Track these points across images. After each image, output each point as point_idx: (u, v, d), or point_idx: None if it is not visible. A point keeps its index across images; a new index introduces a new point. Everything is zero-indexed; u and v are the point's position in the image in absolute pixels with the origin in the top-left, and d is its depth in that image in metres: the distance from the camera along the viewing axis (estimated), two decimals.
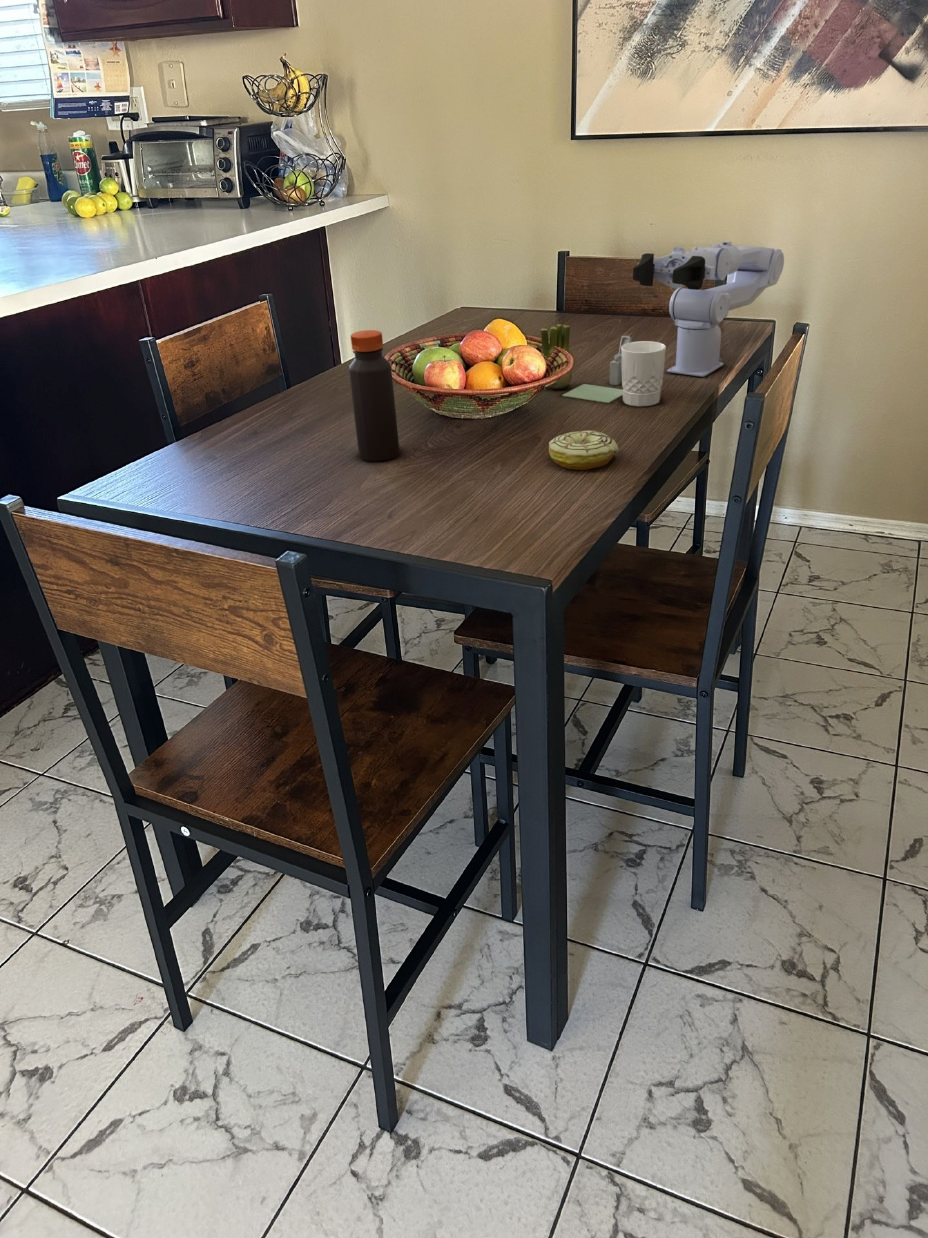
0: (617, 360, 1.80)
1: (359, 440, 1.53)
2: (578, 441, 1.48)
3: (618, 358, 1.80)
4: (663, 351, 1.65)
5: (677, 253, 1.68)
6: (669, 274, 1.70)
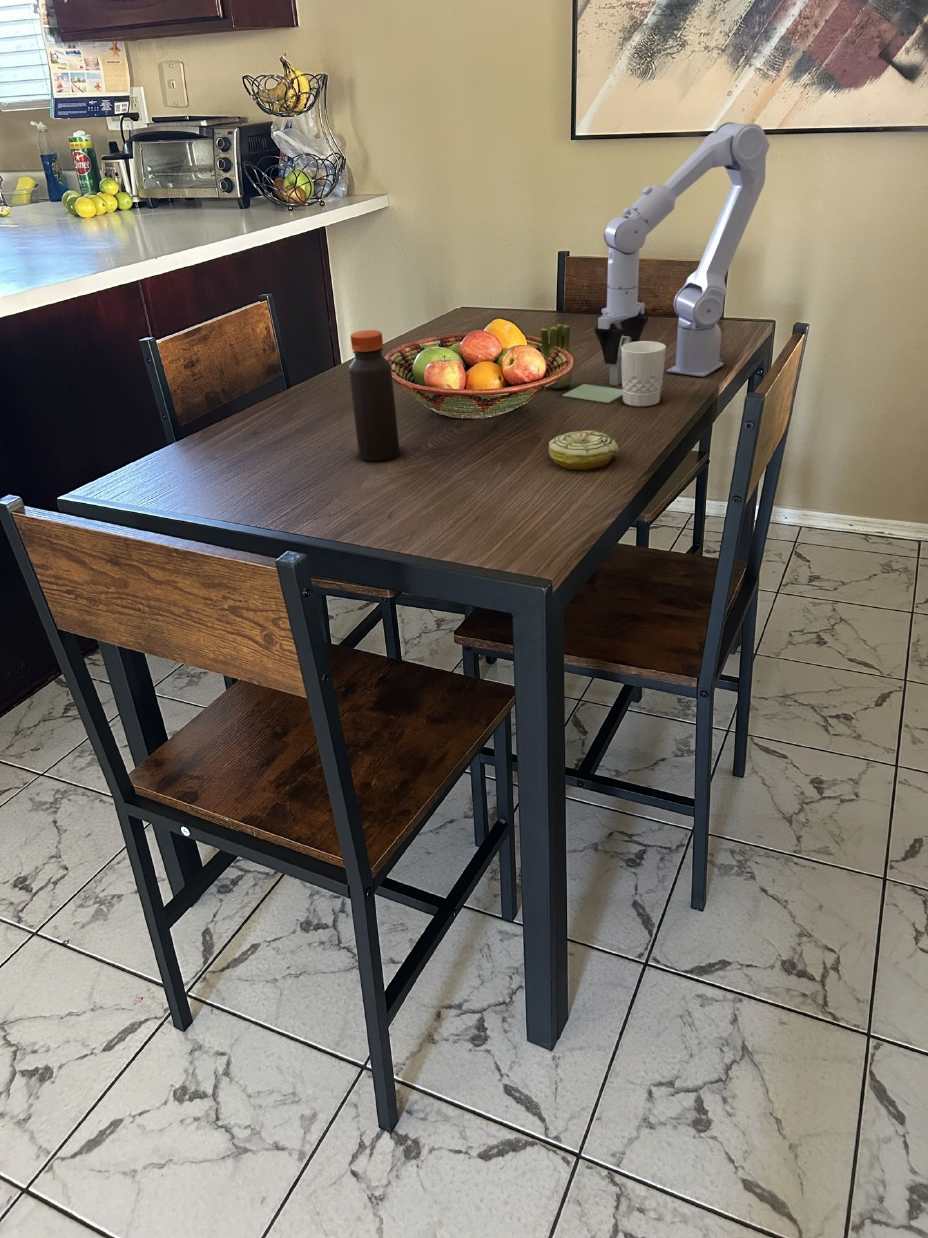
0: (617, 360, 1.80)
1: (359, 440, 1.53)
2: (578, 441, 1.48)
3: (618, 358, 1.80)
4: (663, 351, 1.65)
5: None
6: None
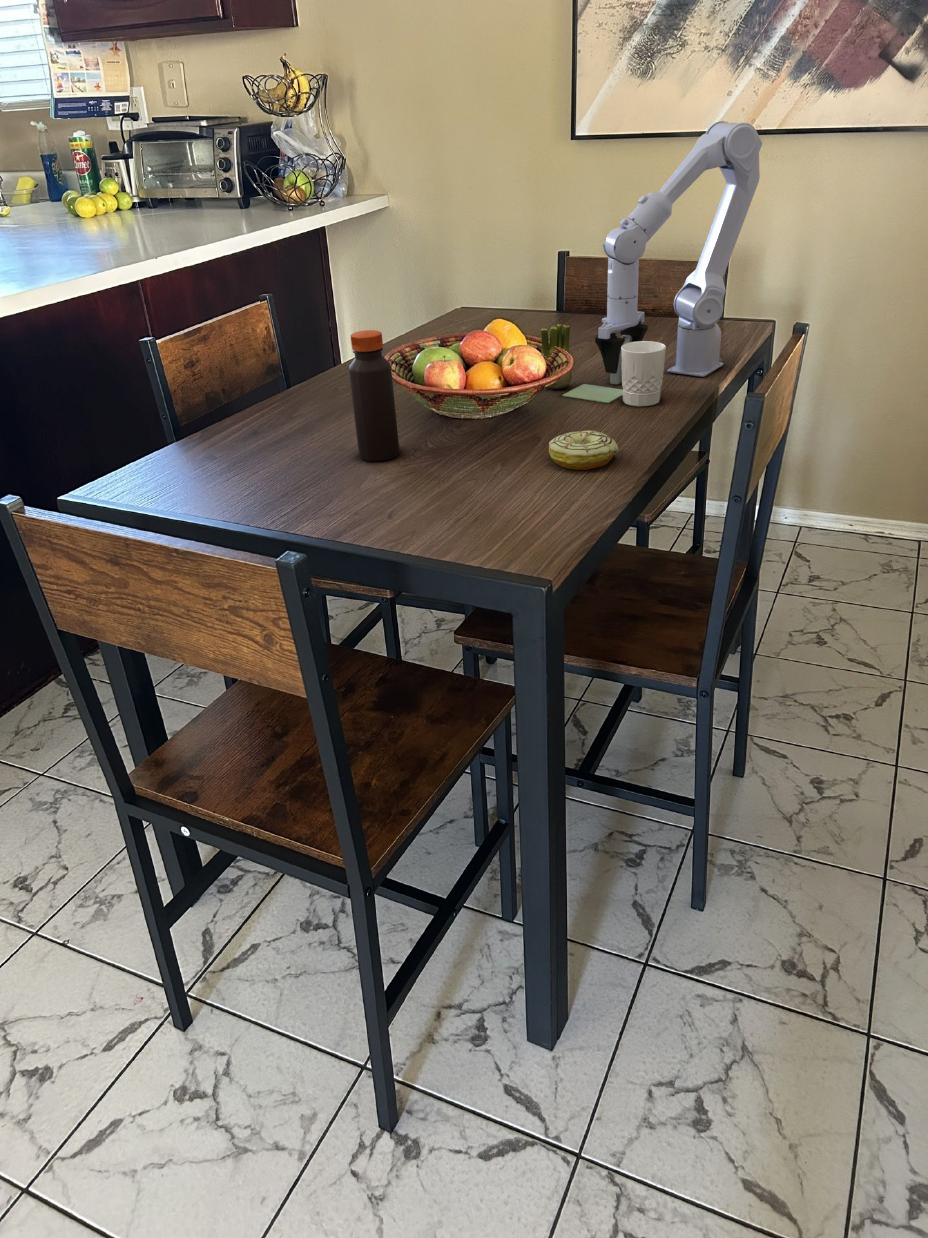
0: None
1: (359, 440, 1.53)
2: (578, 441, 1.48)
3: None
4: (663, 351, 1.65)
5: None
6: None
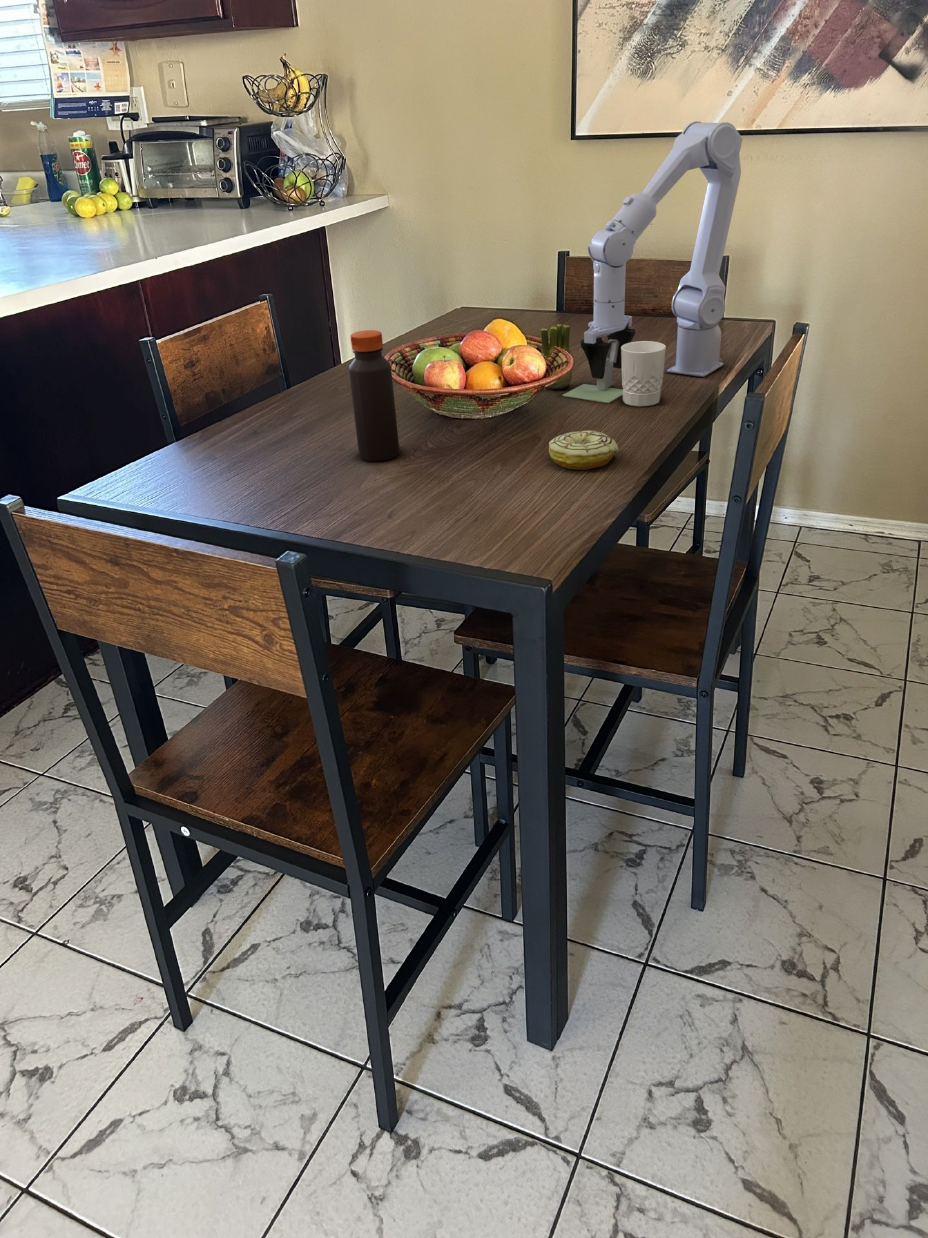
0: None
1: (359, 440, 1.53)
2: (578, 441, 1.48)
3: None
4: (663, 351, 1.65)
5: None
6: None
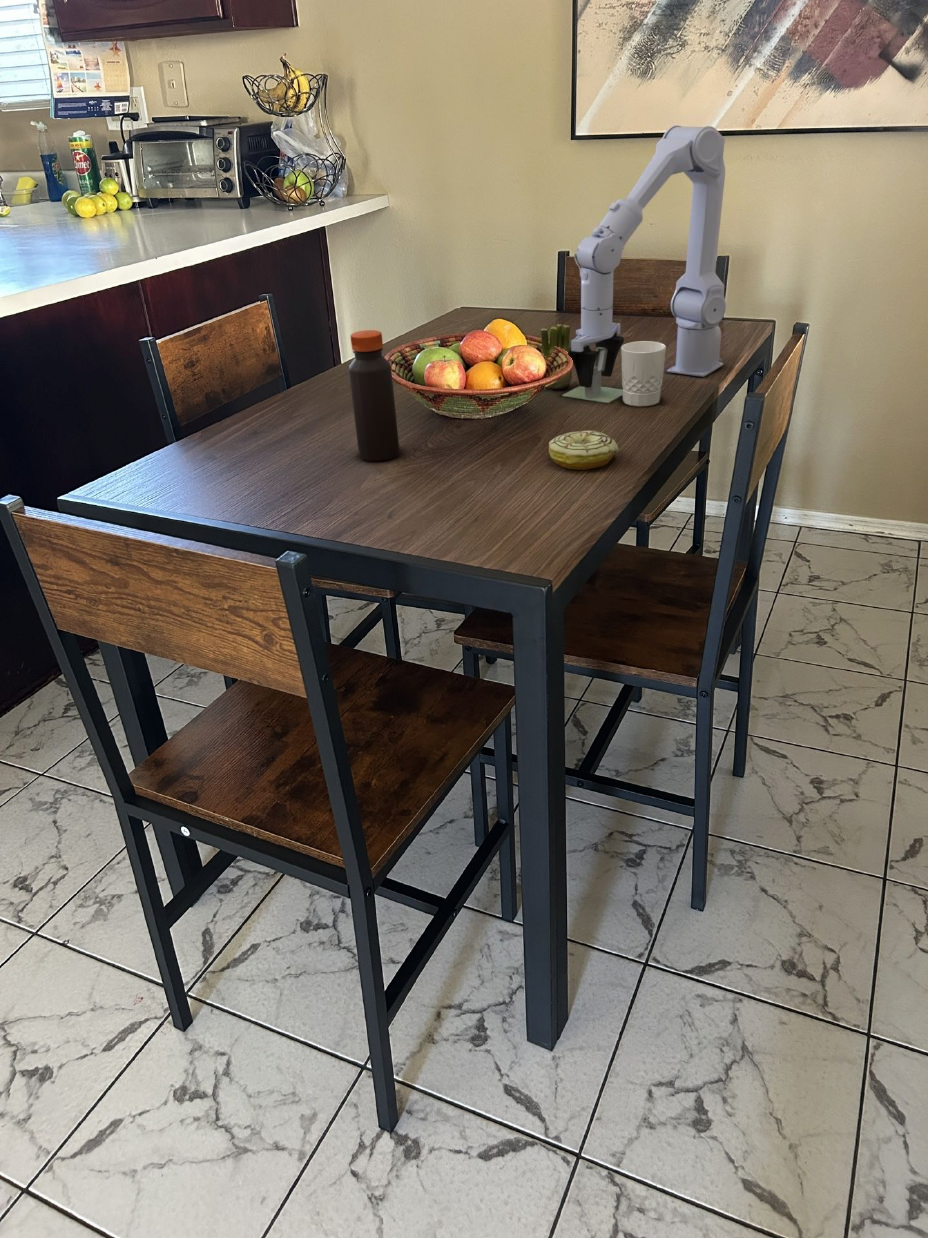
0: None
1: (359, 440, 1.53)
2: (578, 441, 1.48)
3: (593, 370, 1.73)
4: (663, 351, 1.65)
5: None
6: None
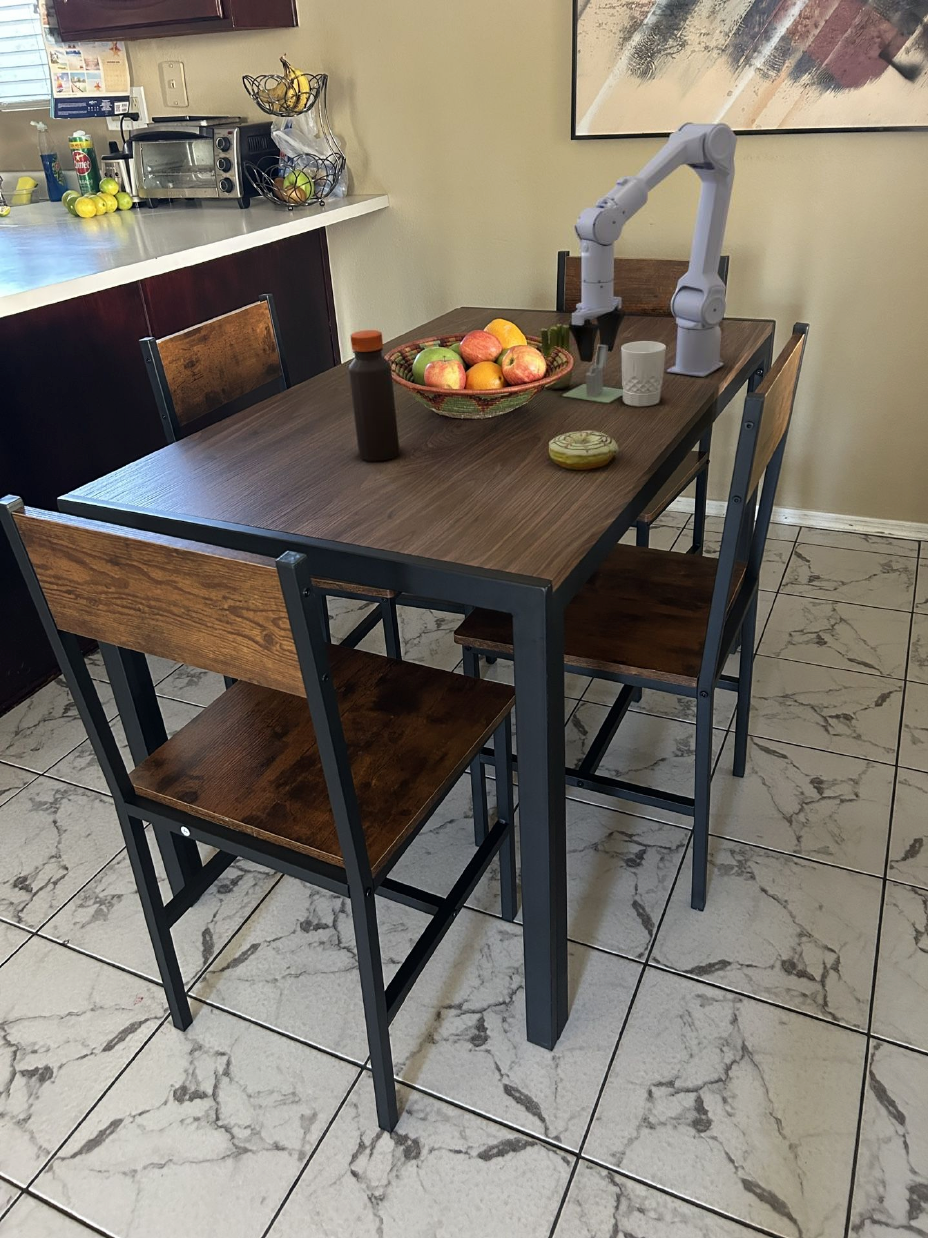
0: (593, 372, 1.73)
1: (359, 440, 1.53)
2: (578, 441, 1.48)
3: (594, 370, 1.73)
4: (663, 351, 1.65)
5: None
6: None
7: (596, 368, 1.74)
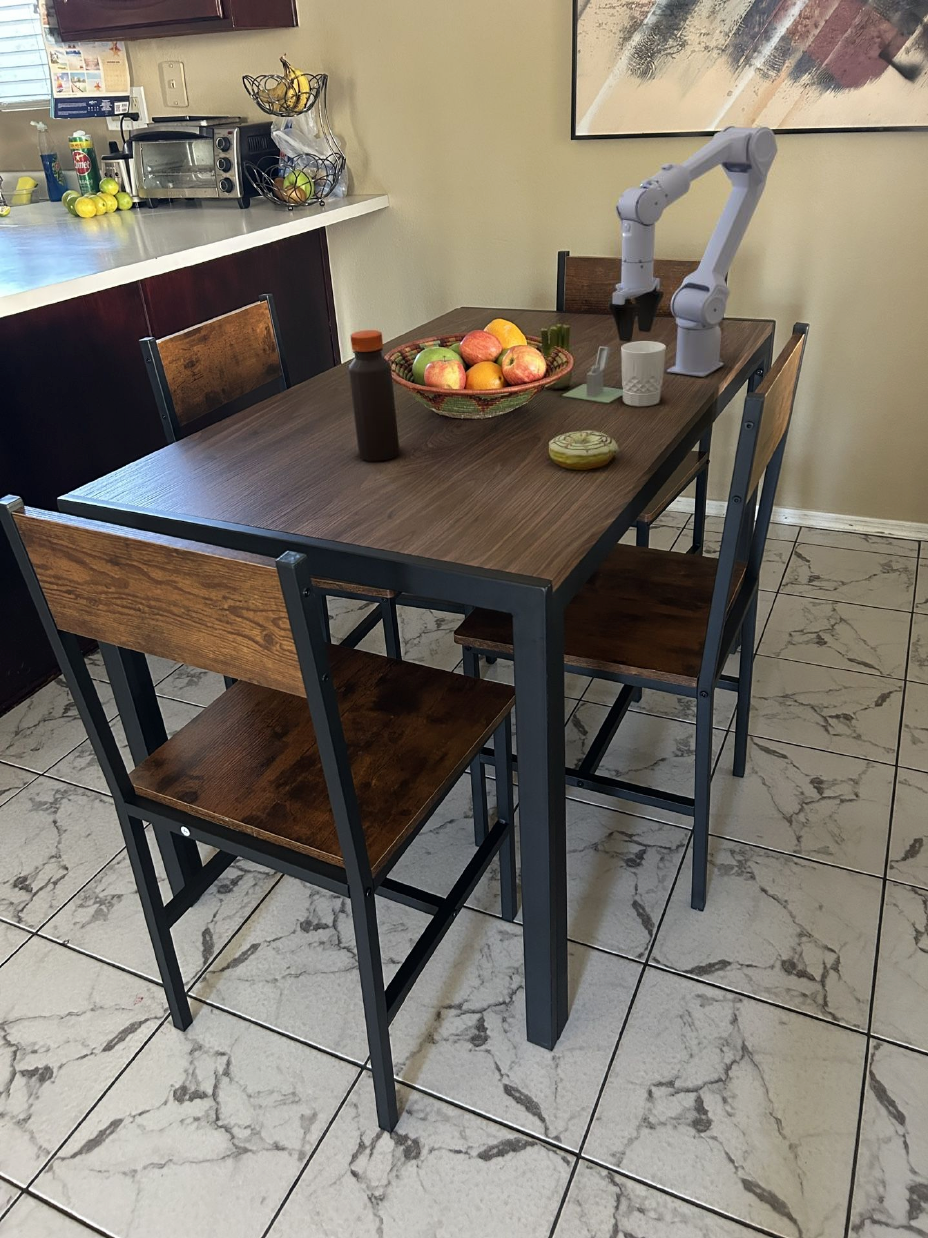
0: (594, 372, 1.74)
1: (359, 440, 1.53)
2: (578, 441, 1.48)
3: (595, 370, 1.74)
4: (663, 351, 1.65)
5: None
6: None
7: (597, 368, 1.74)
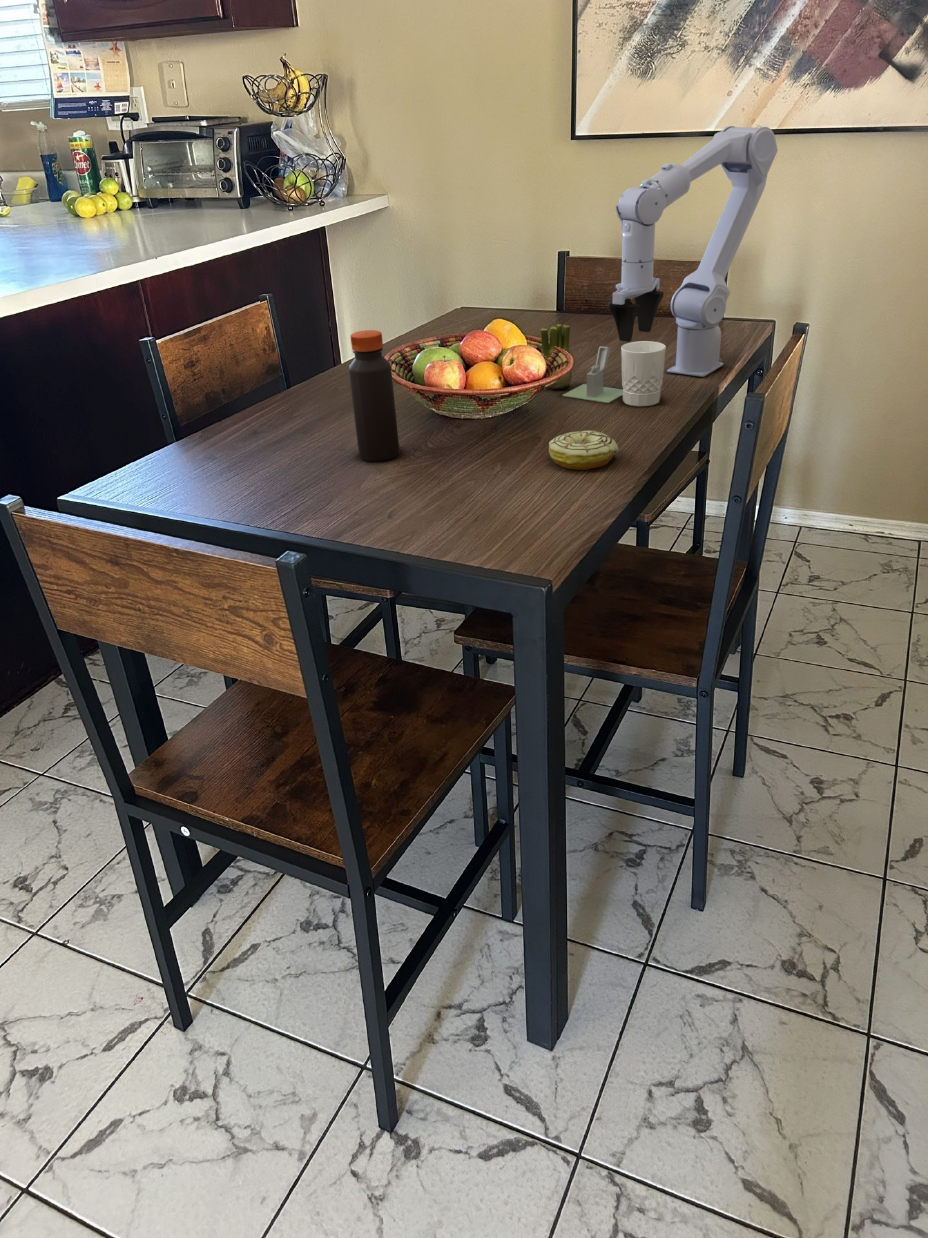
0: (594, 372, 1.74)
1: (359, 440, 1.53)
2: (578, 441, 1.48)
3: (595, 370, 1.74)
4: (663, 351, 1.65)
5: None
6: None
7: (597, 368, 1.74)
